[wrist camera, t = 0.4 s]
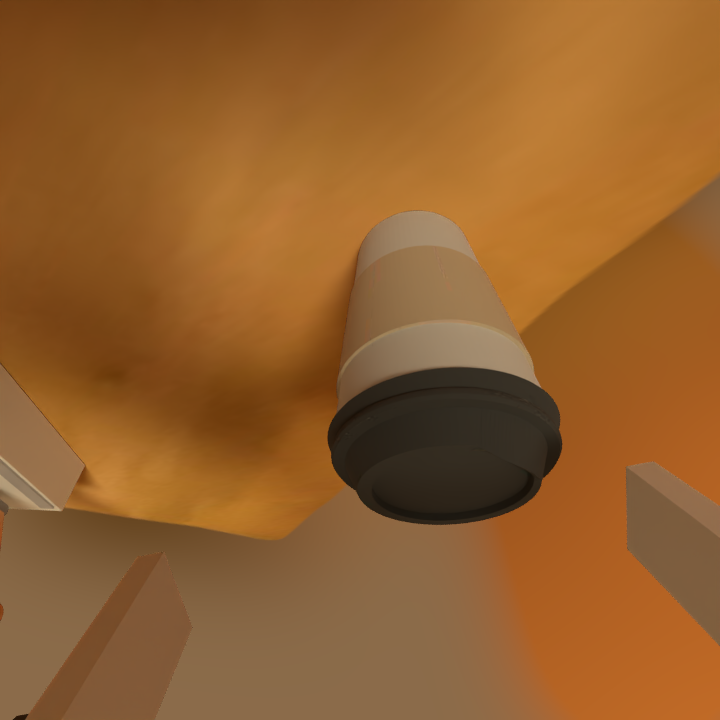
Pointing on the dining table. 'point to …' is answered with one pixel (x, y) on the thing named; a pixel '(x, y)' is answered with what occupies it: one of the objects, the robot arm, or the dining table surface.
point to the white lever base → (32, 454)
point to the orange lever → (0, 511)
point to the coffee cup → (436, 384)
